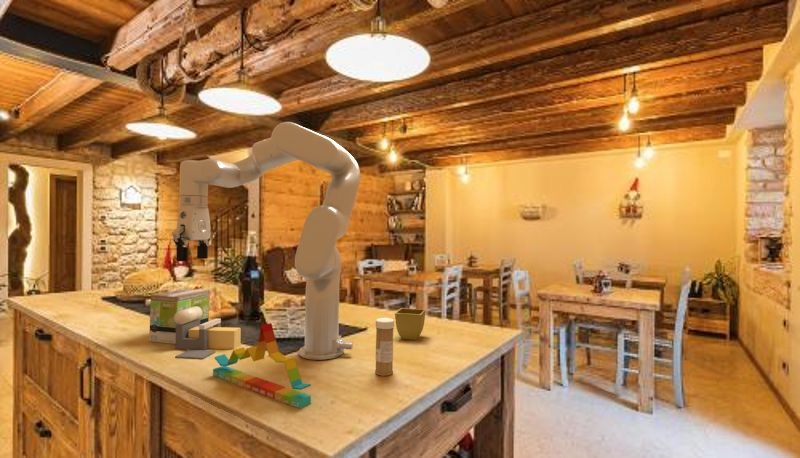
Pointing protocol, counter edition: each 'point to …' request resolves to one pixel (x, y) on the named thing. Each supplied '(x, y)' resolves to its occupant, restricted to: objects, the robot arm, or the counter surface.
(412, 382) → the counter surface
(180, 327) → the dispenser
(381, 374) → the sprinkles bottle
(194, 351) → the mat
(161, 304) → the tea box
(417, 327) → the flower pot
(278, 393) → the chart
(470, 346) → the counter surface
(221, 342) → the tan wooden block
